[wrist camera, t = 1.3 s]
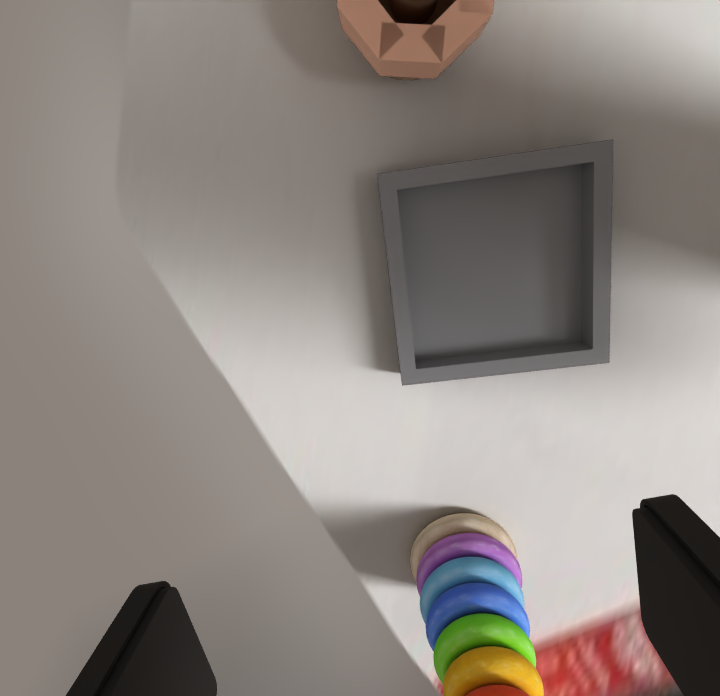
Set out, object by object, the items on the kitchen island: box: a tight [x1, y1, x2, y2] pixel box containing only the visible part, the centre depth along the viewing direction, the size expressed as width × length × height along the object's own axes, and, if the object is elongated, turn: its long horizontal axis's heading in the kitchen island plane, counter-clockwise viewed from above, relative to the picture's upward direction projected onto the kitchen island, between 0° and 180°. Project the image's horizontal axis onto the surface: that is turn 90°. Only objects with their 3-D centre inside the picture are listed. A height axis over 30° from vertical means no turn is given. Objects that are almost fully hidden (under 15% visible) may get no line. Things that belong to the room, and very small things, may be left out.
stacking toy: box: [410, 513, 544, 696], centre depth 28 cm, size 8×8×19 cm
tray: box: [377, 140, 613, 386], centre depth 30 cm, size 13×13×2 cm
